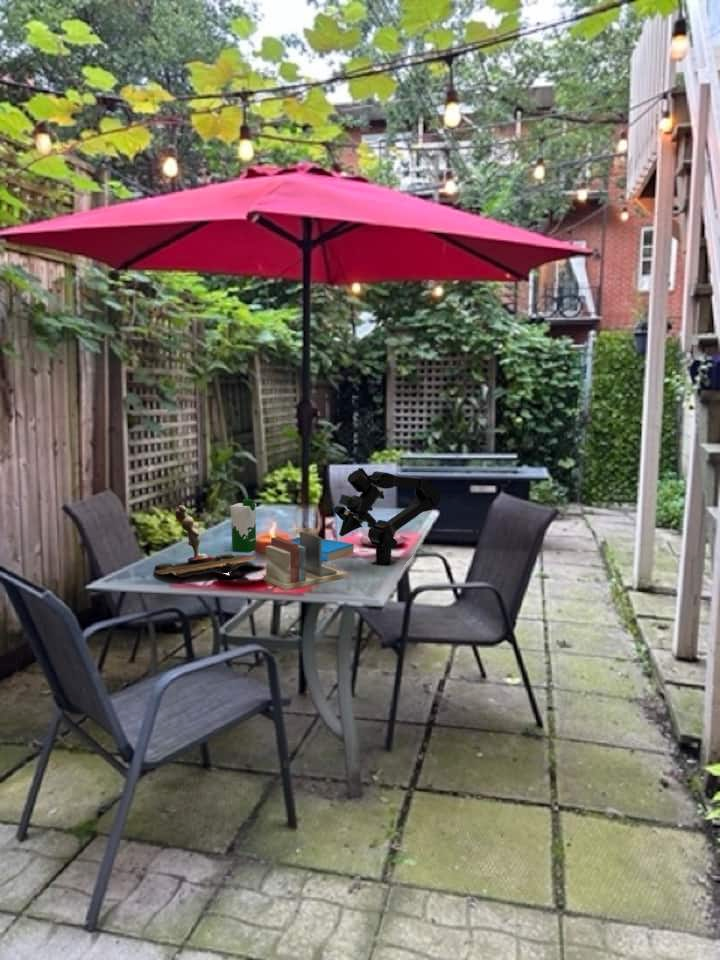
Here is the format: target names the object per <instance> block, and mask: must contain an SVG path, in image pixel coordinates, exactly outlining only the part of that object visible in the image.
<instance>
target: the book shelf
mask: <svg viewBox="0 0 720 960" xmlns="http://www.w3.org/2000/svg"><path fill="white" fill-rule="evenodd" d="M289 540H290V539H286V538H283V537H280V536H275V537H271V538H270V541H271V542H270V544H271V545H266V546H265V565H266V567H265V572H266V574H263V575H262V580H263V581H265V582H267V583H269V584H272V585H275V586H277V587H279V588H280V589H283V590H285V591H289V590H293V589H299V588H303V587H307V586H313V585H318V584H323V583H327V582H331V581H336V580H341V579H347V578H349V577H350V572H348V571H345V570H342V569H340V568H337V567H334V566H331V565H329V564H326V563H322V566H323V567H326V568H329V569H331V570H334V571H337V573H335V574H330V575H325V576H317V575H314V574H312V573H309V572H307V571H306V552H305V547H303V546H301V545H298V543H295V542H292V541H289ZM263 576H264V577H263Z"/></svg>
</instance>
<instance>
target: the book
mask: <svg viewBox="0 0 720 960" xmlns="http://www.w3.org/2000/svg"><path fill="white" fill-rule="evenodd" d="M288 540H289V541H292V542H295V543H298V545H300V536H299V537H295V538H292V539H288ZM354 546H355V545H354V543H350V542H345V541H339V540H334V539H333V540H331V539H326V538H321V556H322V562H330V561H332V560H335V559H339V558H342V557H345V556H348V555H351V554H354Z"/></svg>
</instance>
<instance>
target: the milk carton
mask: <svg viewBox="0 0 720 960" xmlns="http://www.w3.org/2000/svg"><path fill="white" fill-rule="evenodd" d="M229 509H230V517H231V522H230V523H231V524H230V525H231V550H232V552H239V553H250V552H252V551H254V550H256V549H257V545H256V546H255V542H256V543H257V527H256V526H257V524H256V523H257V521H256V512H257V503H254V499H252V498H246V499H245V498H244V499H242V502H237V503H236V504H233V505H229Z"/></svg>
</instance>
